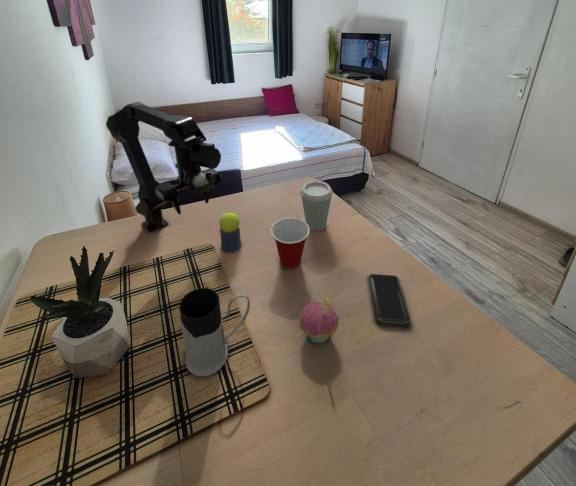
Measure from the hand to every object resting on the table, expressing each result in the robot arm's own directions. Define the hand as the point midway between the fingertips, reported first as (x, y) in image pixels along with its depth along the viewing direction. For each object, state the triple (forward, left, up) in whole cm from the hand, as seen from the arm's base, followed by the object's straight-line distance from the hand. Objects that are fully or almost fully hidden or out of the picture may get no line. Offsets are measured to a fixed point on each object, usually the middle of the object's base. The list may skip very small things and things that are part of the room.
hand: (193, 208), depth 99 cm
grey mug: (+37, -16, -12) cm, 42 cm away
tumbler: (+10, +6, -12) cm, 17 cm away
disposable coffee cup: (+21, +33, -12) cm, 41 cm away
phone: (+55, +22, -12) cm, 60 cm away
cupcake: (+49, +2, -12) cm, 51 cm away
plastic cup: (+28, +14, -12) cm, 34 cm away
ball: (+10, +6, -3) cm, 12 cm away
